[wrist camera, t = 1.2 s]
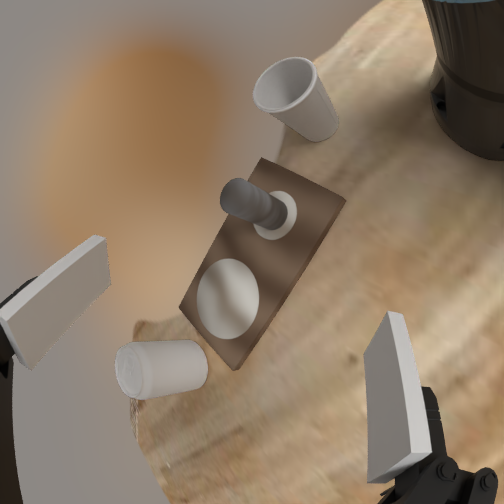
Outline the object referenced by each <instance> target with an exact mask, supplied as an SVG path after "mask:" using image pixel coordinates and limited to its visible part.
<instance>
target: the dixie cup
mask: <svg viewBox="0 0 504 504" xmlns="http://www.w3.org/2000/svg"><path fill="white" fill-rule="evenodd" d="M253 100H254V103H255V105H256V106H257V107H258V108H259V109H260V110H262V111H264V112H267V113H269V114H271V115H273V116H274V117H276V118H277V119H279V120H280V121H282V122H283V123H285V124H286V125H288V126H289V127H290V128H292V129H293V130H295V131H296V132H298V133H299V134H301V135H302V136H303V137H305V138H306V139H308V140H310V141H313V142H319V141H323V140H326V139H328V138H329V137H331V136H332V135H333V134H334V133H335V131H336V130H337V128H338V125H339V118H338V115H337V113H336V111H335V109H334V107H333V104H332V102H331V100H330V98H329V96H328V94H327V92H326V90H325V88H324V86H323V84H322V82H321V80H320V78H319V76H318V74H317V70H316V67H315V65H314V64H313V63H312V62H311V61H309V60H308V59H305V58H302V57H290V58H286V59H282V60H280V61H278V62H276V63H274V64H273V65H271V66H270V67H269V68H267V69H266V70H265V71H264V72H263V73H262V74H261V76H260V77H259V78H258V80H257V82H256V84H255V87H254V90H253Z"/></svg>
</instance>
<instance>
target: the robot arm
mask: <svg viewBox="0 0 504 504" xmlns="http://www.w3.org/2000/svg"><path fill="white" fill-rule="evenodd" d="M422 2H423V5H424V8H425V11H426V14H427V18H428V21H429V25H430V28H431V32H432V36H433V40H434V44H435V48H436V53H437V58H436V61H435V65H434V69H433V72H432V76H431V80H430V97H431V102H432V107H433V111H434V114H435V116H436V118H437V120H438V122H439V124H440V126H441V127H442V128H443V130H444V131H445V132H446V133H447V135H448V136H449V137H450V138H451V139H452V140H454V141H455V142H456V143H457V144H458V145H460V146H461V147H463V148H464V149H466V150H467V151H469V152H471V153H473V154H475V155H478V156H480V157H483V158H487V159H491V160H504V0H422ZM110 285H111V280H110V273H109V264H108V254H107V243H106V238H104V237H101V236H98V235H93V236H92V237H90V238H89V239H87V240H86V241H85V242H83V243H82V244H80V245H79V246H78V247H76V248H75V249H74V250H72V251H71V252H70V253H68V254H67V255H65V257H63V258H62V259H60V260H59V261H58V262H56V263H55V264H54V265H53V266H51V267H50V268H49V269H48V270H46V271H45V272H44V273H42V274H41V275H40V276H37V277H35V278H32V279H30V280H28V281H26V282H25V283H24V284H23V285H22V286H20V288H19V289H17V290H16V291H14V293H13V294H11V295H10V296H9V297H7V298H6V299H5V300H4V301H3V302H2V303H0V504H23V500H22V495H21V491H20V485H19V480H18V474H17V466H16V458H15V449H14V438H13V419H12V384H13V382H12V381H13V364H14V363H13V359H12V356H13V355H14V354H16V356H17V358H18V359H19V361H20V363H21V364H23V365H24V366H26V367H27V368H28V369H30V370H32V369H33V368H34V367H35V366H36V365H37V363H38V362H39V361H40V360H41V359H42V358H43V356H44V355H45V354H46V353H47V352H48V351H49V349H50V348H51V347H52V346H53V345H54V344H55V343H56V342H57V341H58V340H59V338H60V337H61V336H62V335H63V334H64V333H65V332H66V331H67V330H68V329H69V328H70V326H71V325H72V324H73V323H74V322H75V321H76V320H77V319H78V318H79V317H80V316H81V315H82V314H83V313H84V312H85V311H86V309H87V308H88V307H89V306H90V305H91V304H92V303H93V302H94V301H95V300H96V299H97V298H98V297H99V296H100V295H101V294H102V293H103V292H104V291H105V290H106V289H107V288H108V287H109V286H110ZM364 366H365V379H366V396H367V421H368V474H367V483H387V482H389V481H391V480H392V479H394V478H395V485H394V486H393V487H391V488H389V489H387V490H385V491H384V492H383V493H381V494H380V495H381V496H383V495H385V494H386V495H385V496H384V497H383V498H382V499H381V500H380V501H379V503H378V504H494V501H495V497H496V493H497V488H498V478H497V475H496V473H495V472H494V470H492V469H491V468H487V467H485V468H482V469H480V470H479V471H477V472H476V473H472V472H468V471H464V470H460V469H459V468H458V465H457V463H456V462H455V461H454V460H453V459H452V458H450V457H448V456H447V452H446V446H445V439H444V433H443V428H442V422H441V421H440V419H441V417H440V412H438V410H439V407H438V403H437V398H436V396H435V395H434V393H433V391H432V390H431V388H430V387H423V386H421V384H420V379H419V375H418V370H417V366H416V362H415V358H414V354H413V350H412V346H411V342H410V338H409V335H408V331H407V327H406V324H405V320H404V317H403V314H400V313H396V312H391V311H387V313H386V315H385V317H384V318H383V320H382V322H381V324H380V326H379V328H378V330H377V331H376V333H375V335H374V337H373V339H372V340H371V342H370V344H369V346H368V347H367V349H366V351H365V352H364Z"/></svg>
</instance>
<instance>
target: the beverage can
mask: <svg viewBox="0 0 504 504" xmlns="http://www.w3.org/2000/svg"><path fill="white" fill-rule="evenodd" d="M115 372H116V377H117V381H118V383H119V386H120V388H121V389H122V391H123V392H124V393H125V394H126V395H127V396H128V397H131V398H136V399H139V400H145V399H151V398H157V397H162V396H167V395H172V394H177V393H182V392H187V391H191V390H196V389H199V388H200V387H201V386H203V384H204V383H205V381H206V379H207V375H208V363H207V359H206V356H205V353H204V351H203V350H202V348H201V347H200V346H199V345H198V344H197V343H196V342H194V341H192V340H170V341H144V342H130V343H128V344H127V345H125V346H122V347H120V349H119V350H118V352H117V354H116V358H115Z"/></svg>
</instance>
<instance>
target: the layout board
mask: <svg viewBox="0 0 504 504" xmlns="http://www.w3.org/2000/svg"><path fill="white" fill-rule="evenodd" d="M345 202H346V200H345V199H344V198H343V197H341V196H339V195H337V194H336V193H334V192H332V191H330V190H328V189H326V188H324V187H322V186H320V185H318V184H316V183H314V182H312V181H310V180H308V179H306V178H304V177H302V176H300V175H298V174H296V173H294V172H292V171H290V170H288V169H285V168H283V167H281V166H279V165H277V164H275V163H273V162H270V161H268V160H266V159H264V158H261V159H260V160H259V162H258V164H257V166H256V167H255V169H254V171H253V172H252V174H251V176H250V178H249V179H248V181H246V180H244V179H242V178H235V179H233V180H231V181H230V182H228V183H227V184H226V185H225V187H224V188H223V190H222V192H221V196H220V204H221V207H222V209H223V210H224V211H225V212H226V213H228V214H229V215H228V216H227V218H226V220H225V222H224V223H223V225H222V227H221V229H220V231H219V233H218V234H217V236H216V238H215V240H214V242H213V243H212V245H211V247H210V249H209V251H208V253H207V255H206V257H205V258H204V260H203V262H202V264H201V266H200V268H199V269H198V271H197V273H196V275H195V277H194V279H193V281H192V283H191V285H190V286H189V289H188V290H187V292H186V294H185V296H184V298H183V300H182V302H181V304H180V306H179V309H180V310H181V311H182V312H183V314H184V315H185V316H186V317H187V319H188V320H189V321H190V322H191V323H192V325H193V326H194V327H195V328H196V329H197V331H198V332H199V333H200V334H201V335H202V336H203V338H204V339H205V340H206V341H207V342H208V343H209V345H210V346H211V347H212V348H213V349H214V350H215V351H216V353H217V354H218V355H219V356H220V357H221V358H222V359H223V360H224V362H225V363H226V364H227V365H228V366H229V367H230V368H231V369H232V370H233V371H235V370H239V368H240V367H241V365H242V364H243V362H244V361H245V360H246V358H247V357H248V355H249V354H250V352H251V351H252V349H253V348H254V347H255V345H256V344H257V342H258V341H259V339H260V338H261V336H262V335H263V333H264V332H265V330H266V329H267V327H268V326H269V324H270V323H271V321H272V320H273V318H274V317H275V315H276V314H277V312H278V311H279V309H280V308H281V306H282V305H283V303H284V302H285V300H286V298H287V297H288V295H289V294H290V292H291V291H292V289H293V288H294V286H295V284H296V283H297V281H298V280H299V278H300V276H301V275H302V273H303V272H304V270H305V269H306V267H307V265H308V264H309V262H310V260H311V259H312V257H313V256H314V254H315V252H316V251H317V249H318V247H319V246H320V244H321V242H322V241H323V239H324V237H325V236H326V234H327V232H328V231H329V229H330V227H331V226H332V224H333V222H334V221H335V219H336V217H337V216H338V214H339V212H340V210H341V209H342V207H343V205H344V204H345Z"/></svg>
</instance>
